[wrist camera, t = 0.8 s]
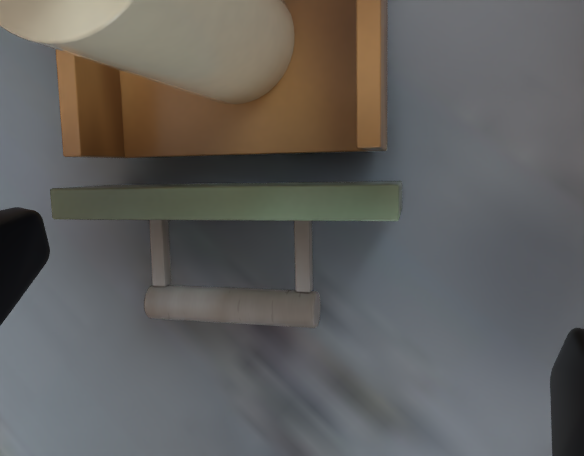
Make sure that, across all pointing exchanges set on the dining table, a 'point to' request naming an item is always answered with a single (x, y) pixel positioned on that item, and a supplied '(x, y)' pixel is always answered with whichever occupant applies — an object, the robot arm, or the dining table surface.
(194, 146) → the drawer
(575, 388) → the robot arm
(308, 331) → the dining table surface
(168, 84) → the bottle
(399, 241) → the dining table surface
